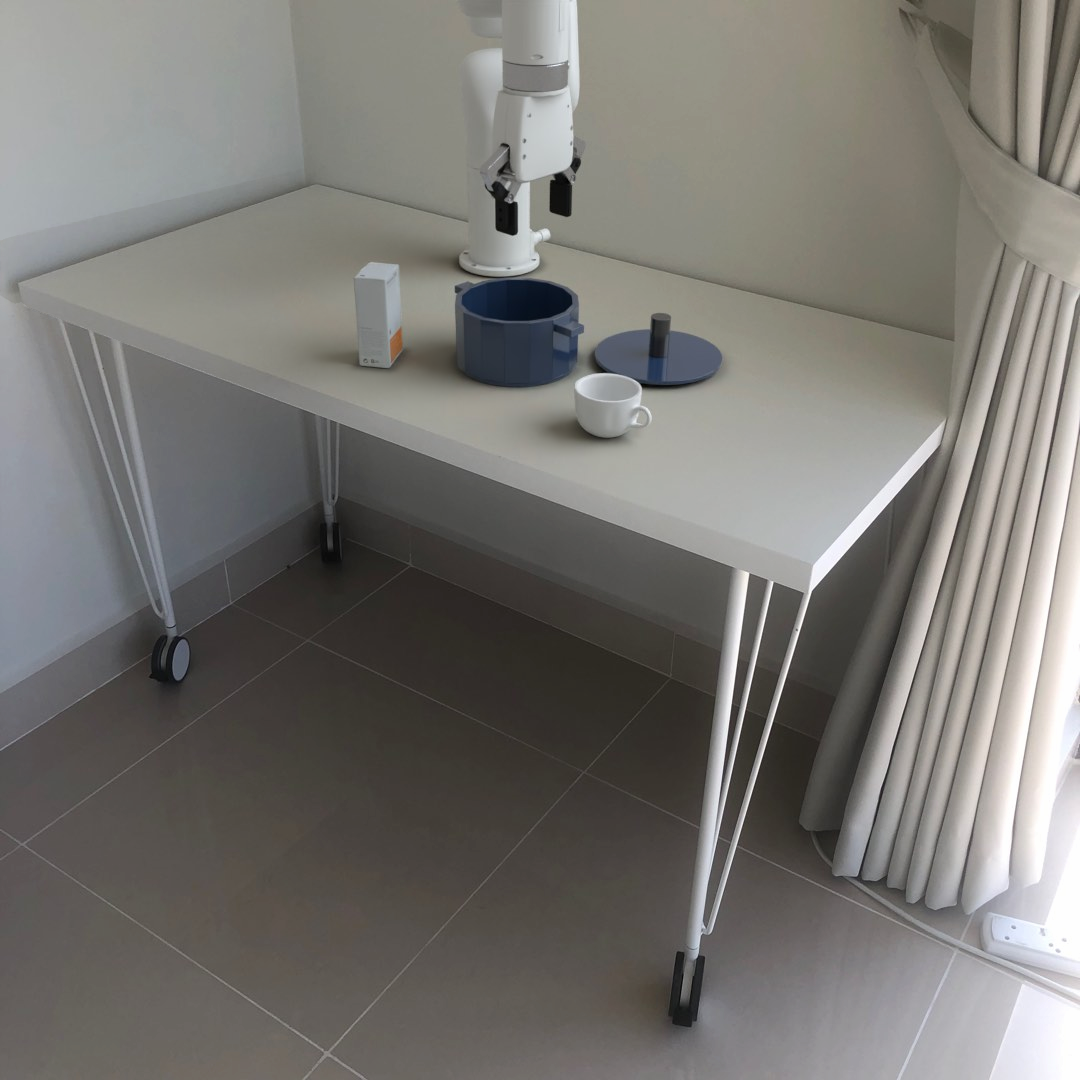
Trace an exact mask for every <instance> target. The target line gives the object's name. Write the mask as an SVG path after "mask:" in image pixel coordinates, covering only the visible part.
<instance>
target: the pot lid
mask: <svg viewBox="0 0 1080 1080" xmlns="http://www.w3.org/2000/svg"><path fill="white" fill-rule="evenodd" d="M649 322H650V324H649V328H646V329H634V330H627V331H623V332H619V333H615V334H613V335H610V336H608V337H606V338H604V339H603V340H601V341H600V342H599V343H598V344H597V346H596V347H595V349H594V359H595V362H596V363H597V365H598V366H599V367H600V368H601V369H602V370H604V371H605V372H606V373H610V374H618V375H623V376H626V377H629V378H631V379H633V380H635V381H637V382H638V383H639V384H646V385H655V386H656V385H657V386H674V385H684V384H691V383H694V382H698V381H702V380H705V379H707V378H709V377H711V376H713V375H714V374H717V372H718V371H719V370H720V369H721V367H722V364H723V354H722V352H721V350H720V349H719V348H718V347H717V346H716V344H713V343H712V342H710V341H708V340H707V339H704V338H702V337H700V336H697V335H694V334H691V333H688V332H687V333H686V332H682V331H677V330H672V329H671V326H672V316H671V315H670V314H669V313H665V312H656V313H655V312H654V313H652V314H651V315H650V321H649Z"/></svg>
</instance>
